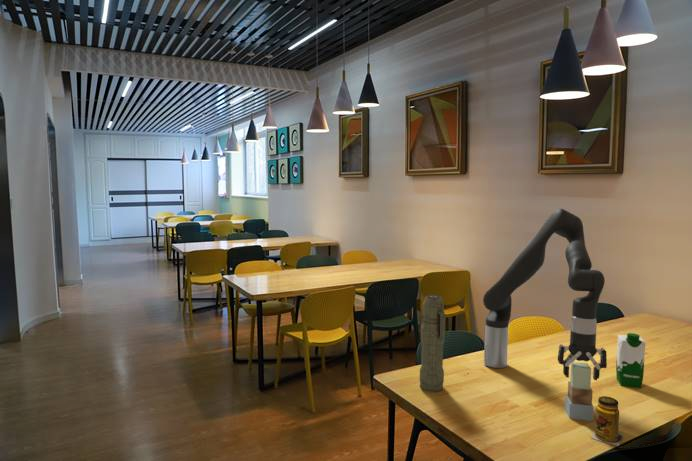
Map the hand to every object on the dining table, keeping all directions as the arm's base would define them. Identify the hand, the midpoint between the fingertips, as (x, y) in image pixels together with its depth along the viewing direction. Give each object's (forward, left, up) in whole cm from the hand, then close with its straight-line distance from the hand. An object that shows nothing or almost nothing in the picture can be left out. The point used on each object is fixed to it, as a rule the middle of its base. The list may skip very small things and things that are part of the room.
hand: (580, 377), depth 153 cm
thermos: (-49, +9, -13) cm, 51 cm away
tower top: (0, 0, -8) cm, 8 cm away
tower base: (0, 0, -13) cm, 13 cm away
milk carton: (+25, +33, -13) cm, 43 cm away
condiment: (+5, -13, -13) cm, 19 cm away
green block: (0, 0, -3) cm, 3 cm away
